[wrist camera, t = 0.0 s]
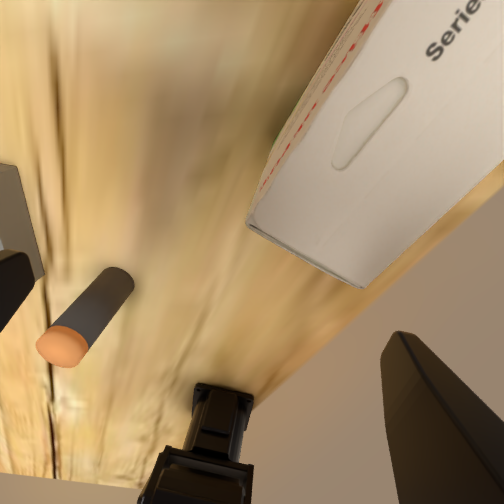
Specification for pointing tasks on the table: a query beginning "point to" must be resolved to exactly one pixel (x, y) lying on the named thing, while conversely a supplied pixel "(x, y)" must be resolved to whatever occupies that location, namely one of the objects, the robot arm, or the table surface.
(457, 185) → the ink box
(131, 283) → the plug
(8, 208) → the port block
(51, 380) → the table surface
